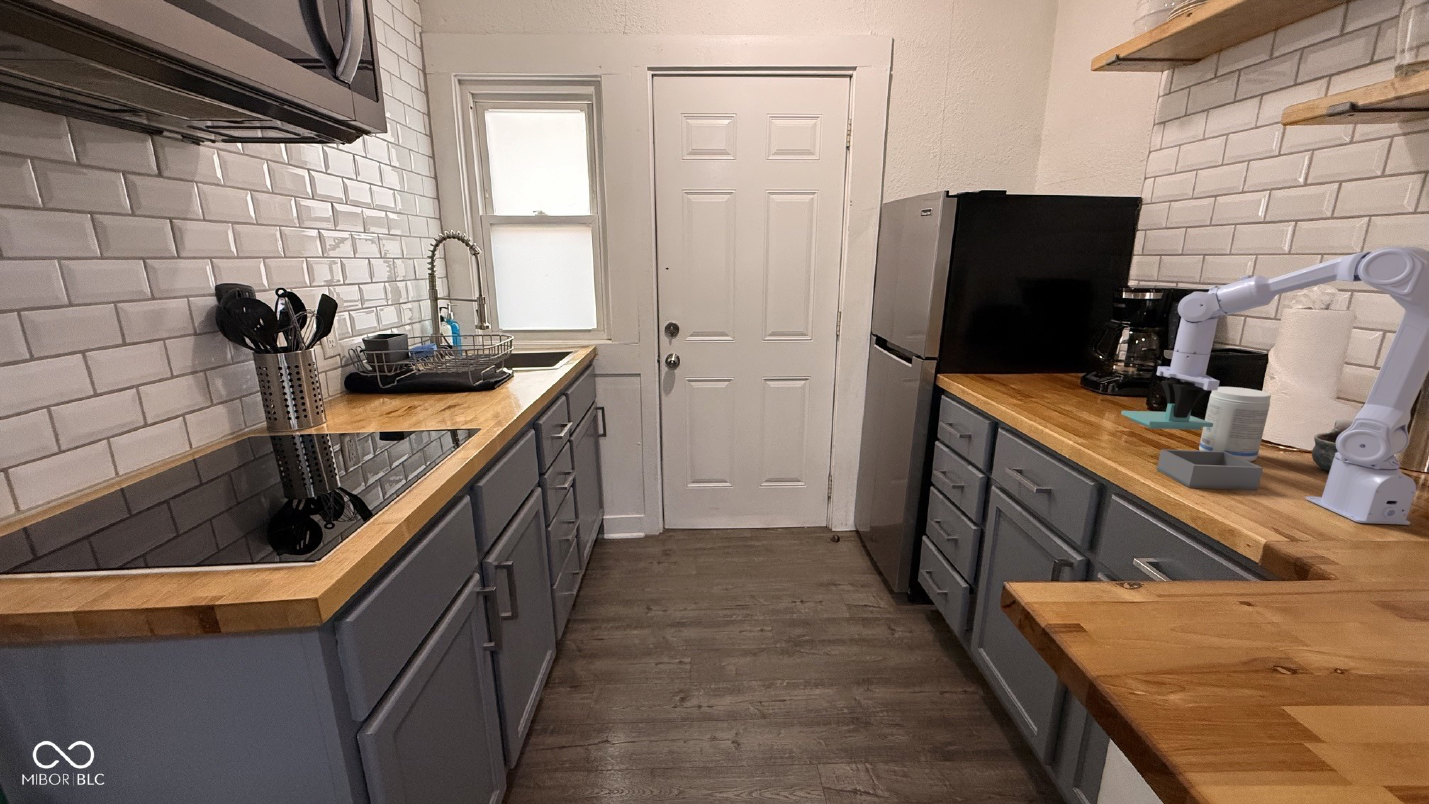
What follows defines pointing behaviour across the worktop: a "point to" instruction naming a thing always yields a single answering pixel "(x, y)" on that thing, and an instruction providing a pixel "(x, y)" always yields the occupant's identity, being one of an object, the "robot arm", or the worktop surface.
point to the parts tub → (1209, 469)
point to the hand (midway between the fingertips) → (1177, 416)
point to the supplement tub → (1235, 421)
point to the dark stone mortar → (1328, 445)
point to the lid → (1166, 419)
